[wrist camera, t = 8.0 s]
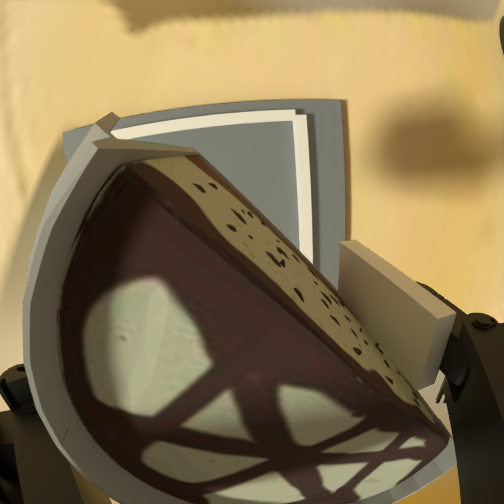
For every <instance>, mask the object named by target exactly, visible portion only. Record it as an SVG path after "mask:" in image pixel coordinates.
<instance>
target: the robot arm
mask: <svg viewBox="0 0 504 504" xmlns="http://www.w3.org/2000/svg"><path fill="white" fill-rule="evenodd" d="M500 39H501V45H502V49H503V53H504V16H503V17H502V19H501V22H500ZM338 295H339V297H340V298H341V299H342V301H343V302H344V303H345V304H346V306H347V307H348V308H349V309H350V311H351V312H352V313H353V314H354V315H355V317H356V318H357V319H358V321H359V322H360V323H361V325H362V326H363V327H364V329H365V330H366V331H367V332H368V334H369V335H370V336H371V337H372V338H373V340H374V341H375V342H376V343H379V347H380V348H381V349H382V350H383V351H384V352H385V354H386V355H387V356H388V357H389V358H390V360H391V361H392V362H393V363H394V364H395V366H396V367H397V368H398V369H399V370H400V372H401V373H402V374H403V375H404V376H405V378H406V379H407V380H408V381H409V382H410V384H411V385H412V386H413V387H414V389H415V390H416V391H418V390H420V389H422V388H425V387H427V386H429V385H432V384H434V383H435V380H436V377H437V374H438V372H439V369H440V370H441V371H442V372H443V374H445V378H444V381H443V383H442V386H441V388H440V391H439V393H438V396H437V398H436V403H439V402H440V399H441V397H442V395H443V394H444V395H445V399H444V401H443V403H446V404H447V409H448V414H449V419H450V424H451V429H452V434H453V441H454V447H455V454H456V460H457V467H458V476H459V485H460V496H461V504H504V323H498V322H497V321H496V319H494V318H493V317H491V316H489V315H487V314H484V313H470V314H468V315H467V314H466V313H464V312H463V311H462V310H460V309H459V308H458V307H456V306H455V305H454V304H452V303H451V302H450V301H448V300H447V299H444V297H443V296H441V295H440V294H437V292H436V291H435V290H433V289H432V288H430V287H429V286H427V285H424V284H422V283H419V282H417V281H416V282H415V281H414V280H412V279H411V278H409V277H408V276H407V275H405V274H404V273H403V272H401V271H400V270H398V269H397V268H396V267H394V266H393V265H391V264H390V263H388V262H387V261H386V260H384V259H383V258H381V257H380V256H378V255H377V254H375V253H374V252H373V251H371V250H370V249H368V248H367V247H365V246H364V245H362V244H361V243H359V242H358V241H356V240H349V241H341V242H340V253H339V277H338ZM0 394H1V396H2V397H3V399H4V400H5V402H6V403H7V405H8V407H9V408H10V410H8V411H3V412H0V504H112V503H111V501H110V499H109V497H108V496H107V495H105V494H104V493H103V492H101V491H100V490H99V489H98V488H96V487H95V486H94V485H93V484H91V483H90V482H89V481H88V480H87V479H85V478H84V477H83V476H82V475H81V474H80V473H79V472H78V471H77V470H76V469H75V468H74V466H73V465H72V464H71V463H70V462H69V461H68V460H67V458H66V457H65V456H64V455H63V454H62V452H61V451H60V450H59V449H58V447H57V446H56V445H55V443H54V441H53V439H52V438H51V436H50V434H49V432H48V431H47V429H46V427H45V425H44V423H43V421H42V419H41V417H40V416H39V414H38V412H37V410H36V406H35V403H34V400H33V396H32V393H31V389H30V386H29V382H28V378H27V374H26V370H25V366H24V364H19V365H15V366H13V367H11V368H9V369H8V370H6V371H5V372H4V373H2V375H1V376H0Z"/></svg>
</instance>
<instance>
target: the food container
mask: <svg viewBox="0 0 504 504" xmlns="http://www.w3.org/2000/svg"><path fill="white" fill-rule="evenodd" d="M119 120H120V118H119V117H118V116H117V115H115V114H114V113H113V112H111V113H109V114H108V115H106V116H105V117H103V118H102V119H100V120H99V121H97V122H96V123H95V124H94V125H93V126H92V128H91V129H90V131H89V132H88V134H87V135H86V137H85V138H84V140H83V141H82V143H81V144H80V146H79V147H78V149H77V150H76V152H75V153H74V155H73V156H72V158H71V160H70V161H69V163H68V165H67V166H66V168H65V169H64V171H63V173H62V175H61V176H60V178H59V180H58V182H57V183H56V185H55V187H54V188H53V190H52V192H51V195H50V197H49V200H48V203H47V206H46V208H45V211H44V214H43V217H42V220H41V223H40V226H39V229H38V233H37V236H36V239H35V242H34V245H33V249H32V252H31V257H30V260H29V264H28V274H27V286H26V290H25V295H24V300H23V357H24V358H23V359H24V366H25V370H26V374H27V378H28V382H29V386H30V389H31V393H32V396H33V400H34V403H35V406H36V410H37V412H38V414H39V416H40V417H41V419H42V421H43V423H44V425H45V427H46V429H47V431H48V432H49V434H50V436H51V438H52V439H53V441H54V443H55V445H56V446H57V447H58V449H59V450H60V451H61V452H62V454H63V455H64V456H65V457H66V458H67V460H68V461H69V462H70V463H71V464H72V465H73V466H74V468H75V469H76V470H77V471H78V472H79V473H80V474H81V475H82V476H83V477H84V478H85V479H87V480H88V481H89V482H90V483H91V484H93V485H94V486H95V487H96V488H98V489H99V490H100V491H101V492H103V493H104V494H105V495H107V496H108V497H110V498H111V499H113V500H115V501H116V502H118V503H120V504H394V503H396V502H398V501H400V500H402V499H404V498H406V497H408V496H410V495H412V494H414V493H415V492H417V491H419V490H421V489H422V488H424V487H425V486H427V485H429V484H430V483H432V482H433V481H435V480H436V479H438V478H439V477H441V476H442V475H444V474H445V473H447V472H448V471H449V470H451V469H452V468H453V467H455V466H456V465H457V460H456V454H455V447H454V441H453V437H452V436H451V434H450V433H449V432H448V430H447V429H446V427H445V426H444V424H443V423H442V421H441V420H440V419H438V418H437V416H436V415H435V414H434V412H433V411H432V410H431V408H430V407H429V405H428V404H427V403H426V401H425V400H424V399H423V397H422V396H421V395H420V393H419V392H418V391H416V390H415V389H414V387H413V386H412V385H411V384H410V382H409V381H408V380H407V379H406V378H405V376H404V375H403V374H402V373H401V372H400V370H399V369H398V368H397V367H396V366H395V364H394V363H393V362H392V361H391V360H390V358H389V357H388V356H387V355H386V354H385V352H384V351H383V350H382V349H381V348H380V347H379V343H376V342H375V341H374V340H373V338H372V337H371V336H370V335H369V334H368V332H367V331H366V330H365V329H364V327H363V326H362V325H361V323H360V322H359V321H358V319H357V318H356V317H355V315H354V314H353V313H352V312H351V311H350V309H349V308H348V307H347V306H346V304H345V303H344V302H343V301H342V299H341V298H340V297H339V295H338V290H337V289H336V288H335V287H334V286H333V285H332V283H331V282H330V281H329V280H328V279H327V278H326V277H325V276H324V275H323V274H322V273H321V272H320V271H319V270H318V269H317V268H316V267H315V266H314V265H313V264H312V263H311V262H310V261H309V260H308V259H307V258H306V257H305V256H304V255H303V254H302V253H301V252H300V251H299V250H298V249H297V248H296V247H295V246H294V245H293V244H292V242H291V241H290V240H289V239H288V238H287V237H286V236H285V235H284V234H283V233H282V232H281V231H280V230H279V229H278V228H277V227H276V226H275V225H274V224H273V223H272V222H271V221H270V220H269V219H268V218H267V217H266V216H265V215H264V214H263V213H261V212H260V211H259V210H258V209H257V208H256V207H255V206H254V205H253V204H252V203H251V202H250V201H249V200H248V199H247V198H246V197H245V196H244V195H243V194H242V193H241V192H240V191H239V190H238V189H237V188H236V187H235V186H234V185H233V184H232V183H231V182H230V181H229V180H228V179H227V178H226V177H225V176H224V175H223V174H222V173H220V172H219V171H218V170H217V169H216V168H215V167H214V166H213V165H212V164H211V163H210V162H209V161H208V160H207V159H206V158H205V157H204V156H203V155H202V154H201V153H199V152H198V151H197V150H196V149H195V148H189V147H182V146H175V145H168V144H160V143H152V142H144V141H135V140H126V139H117V138H116V137H115V136H114V135H113V134H111V133H110V132H111V131H112V129H113V128H114V127H115V125H116V124H117V122H118V121H119Z"/></svg>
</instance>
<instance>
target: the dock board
mask: <svg viewBox="0 0 504 504" xmlns="http://www.w3.org/2000/svg"><path fill="white" fill-rule="evenodd" d="M92 126H93V125H90V126H86V127H82V128H78V129H75V130H71V131H67V132H63V140H64V149H65V156H66V164H67V165H68V163H69V161H70V160H71V158H72V156H73V155H74V153H75V152H76V150H77V149H78V147H79V146H80V144H81V143H82V141H83V140H84V138H85V137H86V135H87V134H88V132H89V131H90V129H91V128H92ZM110 133H111V134H113V135H114V136H115V137H116V138H117V139H126V140H135V141H144V142H152V143H160V144H168V145H175V146H182V147H189V148H195V149H196V150H197V151H198V152H199V153H201V154H202V155H203V156H204V157H205V158H206V159H207V160H208V161H209V162H210V163H211V164H212V165H213V166H214V167H215V168H216V169H217V170H218V171H219V172H220V173H222V174H223V175H224V176H225V177H226V178H227V179H228V180H229V181H230V182H231V183H232V184H233V185H234V186H235V187H236V188H237V189H238V190H239V191H240V192H241V193H242V194H243V195H244V196H245V197H246V198H247V199H248V200H249V201H250V202H251V203H252V204H253V205H254V206H255V207H256V208H257V209H258V210H259V211H260V212H261V213H263V214H264V215H265V216H266V217H267V218H268V219H269V220H270V221H271V222H272V223H273V224H274V225H275V226H276V227H277V228H278V229H279V230H280V231H281V232H282V233H283V234H284V235H285V236H286V237H287V238H288V239H289V240H290V241H291V242H292V244H293V245H294V246H295V247H296V248H297V249H298V250H299V251H300V252H301V253H302V254H303V255H304V256H305V257H306V258H307V259H308V260H309V261H310V262H311V263H312V264H313V265H314V266H315V267H316V268H317V269H318V270H319V271H320V272H321V273H322V274H323V275H324V276H325V277H326V278H327V279H328V280H329V281H330V282H331V283H332V285H333V286H334V287H335V288H336V289H337V290H338V277H339V253H340V242H341V241H345V170H344V145H343V127H342V112H341V100H270V101H251V102H237V103H225V104H214V105H205V106H196V107H188V108H181V109H174V110H167V111H160V112H154V113H148V114H143V115H137V116H132V117H127V118H122V119H120V120H119V121H118V122H117V124H116V125H115V127H114V128H113V129H112V131H111V132H110Z"/></svg>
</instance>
